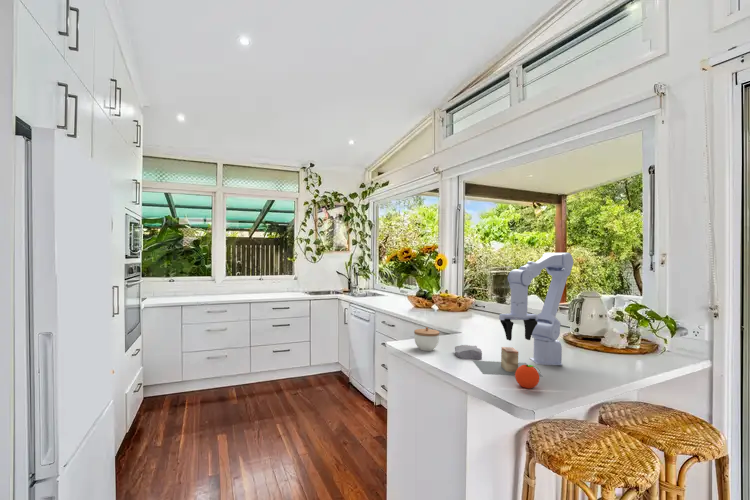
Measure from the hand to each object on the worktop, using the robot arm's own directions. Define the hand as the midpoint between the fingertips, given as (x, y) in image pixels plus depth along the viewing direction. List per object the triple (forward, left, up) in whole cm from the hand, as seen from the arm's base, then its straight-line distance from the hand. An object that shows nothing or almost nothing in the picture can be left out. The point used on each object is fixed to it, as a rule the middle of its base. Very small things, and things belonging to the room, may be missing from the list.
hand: (518, 339), depth 133 cm
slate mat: (+5, +2, -10) cm, 11 cm away
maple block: (+4, +3, -10) cm, 11 cm away
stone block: (+15, -14, -11) cm, 24 cm away
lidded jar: (+31, -22, -11) cm, 40 cm away
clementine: (+4, +21, -11) cm, 24 cm away
